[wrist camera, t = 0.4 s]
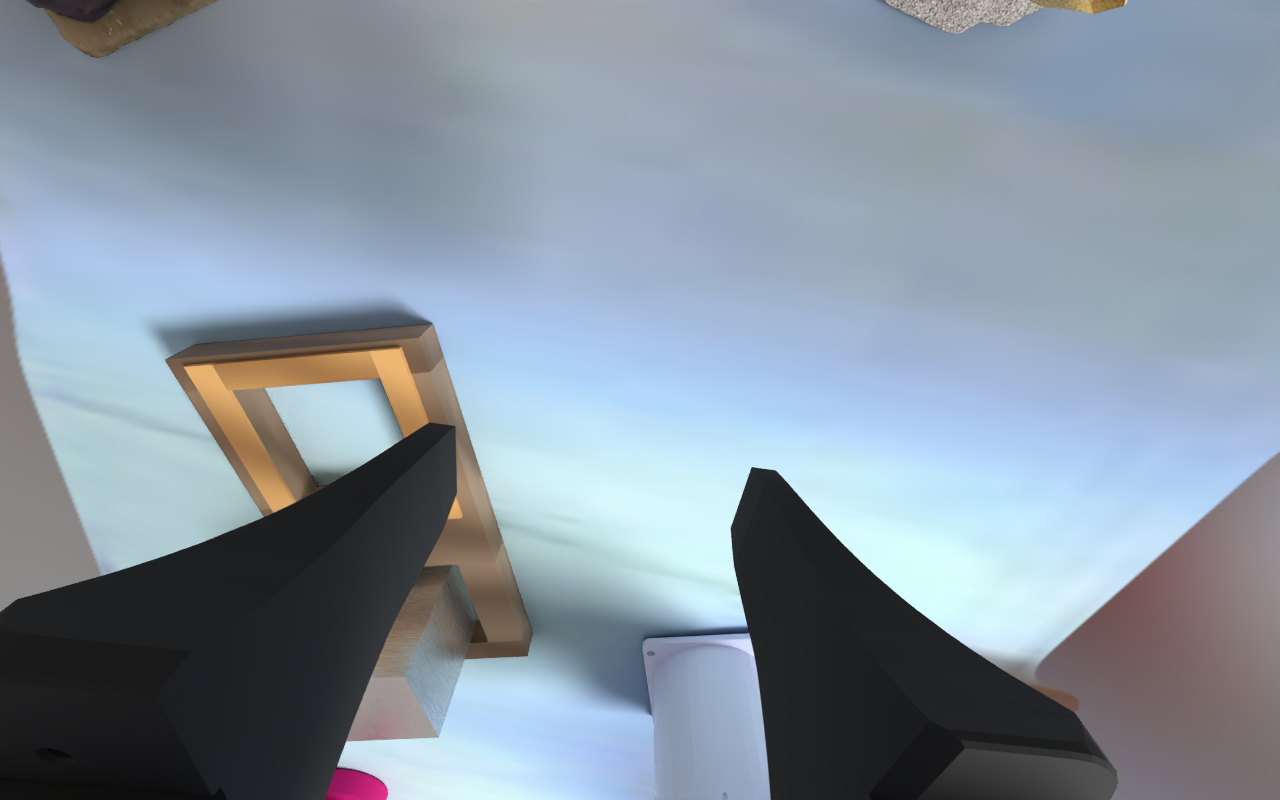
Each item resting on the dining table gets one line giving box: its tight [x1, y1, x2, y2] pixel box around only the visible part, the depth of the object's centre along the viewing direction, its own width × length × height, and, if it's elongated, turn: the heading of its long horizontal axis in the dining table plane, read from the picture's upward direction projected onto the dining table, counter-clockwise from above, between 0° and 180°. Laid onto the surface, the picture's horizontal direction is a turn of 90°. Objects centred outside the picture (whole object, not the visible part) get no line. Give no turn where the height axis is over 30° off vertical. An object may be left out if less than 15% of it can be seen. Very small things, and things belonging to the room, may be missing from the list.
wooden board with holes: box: [165, 324, 532, 659], centre depth 25 cm, size 20×10×2 cm, turn 5°
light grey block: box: [346, 564, 478, 741], centre depth 26 cm, size 5×5×7 cm
